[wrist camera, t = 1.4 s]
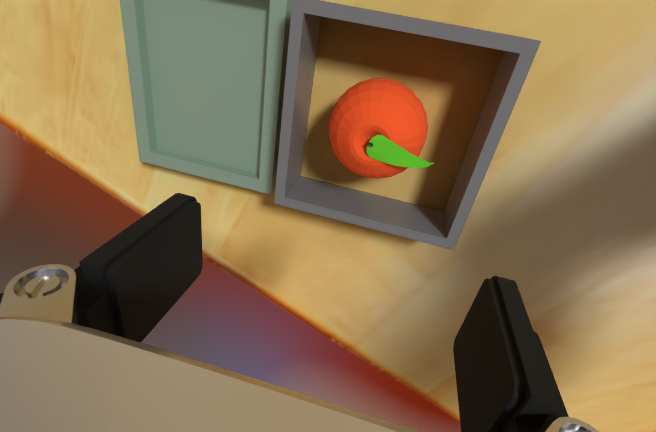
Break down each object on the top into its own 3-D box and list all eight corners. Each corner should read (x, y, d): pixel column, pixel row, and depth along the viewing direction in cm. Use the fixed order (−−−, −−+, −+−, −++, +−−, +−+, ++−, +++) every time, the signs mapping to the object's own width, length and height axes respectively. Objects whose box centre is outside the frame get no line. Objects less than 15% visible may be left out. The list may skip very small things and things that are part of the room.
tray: (297, -16, 25) (288, -18, 24) (278, 185, 33) (270, 194, 32) (133, -45, 27) (114, -49, 25) (153, 154, 35) (139, 161, 33)
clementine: (458, 102, 27) (468, 126, 20) (412, 179, 30) (409, 219, 24) (361, 55, 27) (342, 66, 21) (326, 138, 30) (302, 167, 24)
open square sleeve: (522, 37, 24) (541, 40, 20) (450, 221, 31) (453, 250, 27) (312, -1, 26) (292, -5, 22) (291, 182, 33) (274, 203, 29)
